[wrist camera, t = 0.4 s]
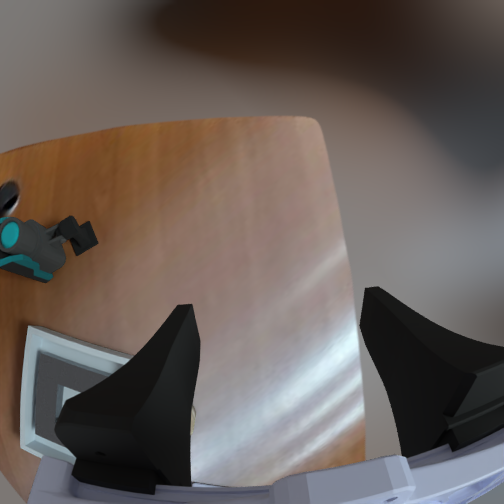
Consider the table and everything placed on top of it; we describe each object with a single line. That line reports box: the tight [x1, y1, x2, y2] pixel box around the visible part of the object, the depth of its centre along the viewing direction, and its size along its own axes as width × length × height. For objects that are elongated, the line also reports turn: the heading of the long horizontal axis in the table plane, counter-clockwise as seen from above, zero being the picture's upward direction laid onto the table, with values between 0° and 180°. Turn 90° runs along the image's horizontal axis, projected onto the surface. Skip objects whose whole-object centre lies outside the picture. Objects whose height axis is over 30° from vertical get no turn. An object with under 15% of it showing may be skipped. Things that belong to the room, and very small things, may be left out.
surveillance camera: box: [0, 216, 98, 283], centre depth 32 cm, size 6×12×10 cm
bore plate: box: [35, 352, 111, 447], centre depth 32 cm, size 12×12×2 cm
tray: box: [20, 326, 134, 465], centre depth 31 cm, size 18×16×4 cm
